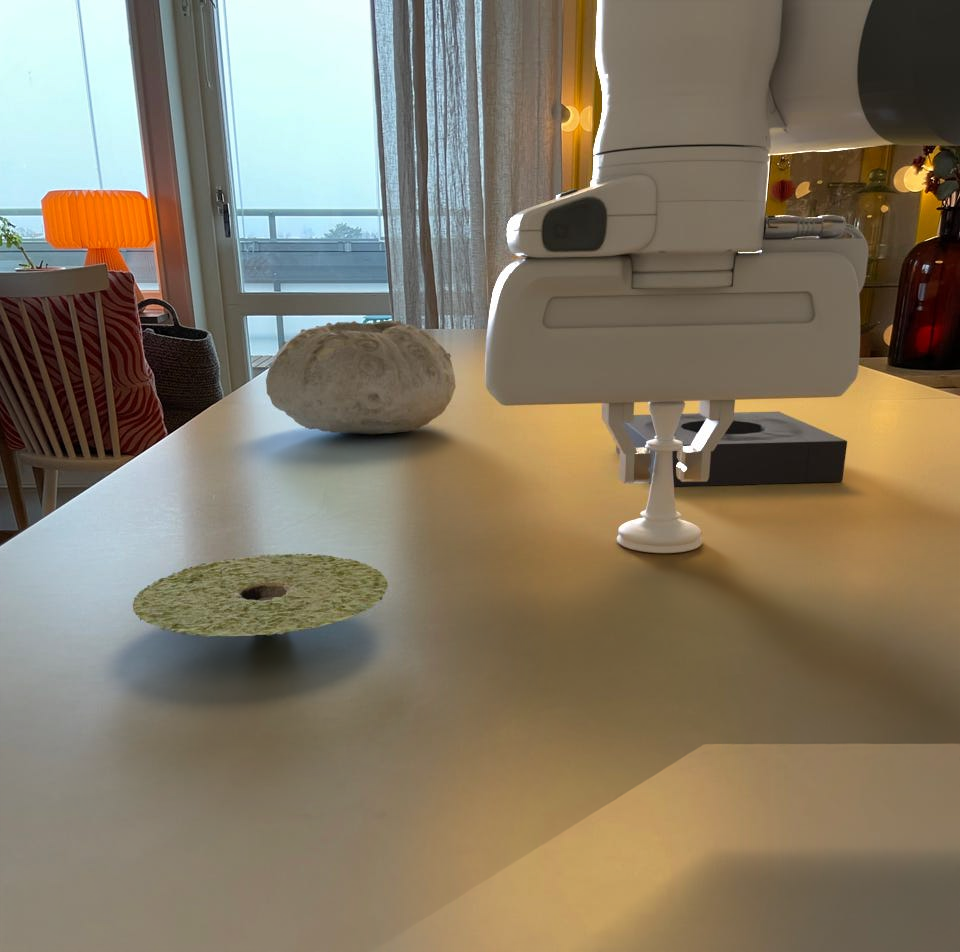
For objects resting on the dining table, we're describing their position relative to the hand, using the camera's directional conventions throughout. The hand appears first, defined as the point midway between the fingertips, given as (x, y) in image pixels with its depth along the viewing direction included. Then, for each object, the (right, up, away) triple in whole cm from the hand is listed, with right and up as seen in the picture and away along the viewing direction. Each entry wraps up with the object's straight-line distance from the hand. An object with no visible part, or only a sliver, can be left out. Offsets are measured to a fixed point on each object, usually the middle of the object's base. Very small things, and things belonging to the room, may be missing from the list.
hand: (662, 480), depth 55 cm
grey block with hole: (+9, +5, +21) cm, 24 cm away
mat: (-20, -9, -11) cm, 25 cm away
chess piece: (0, -4, +1) cm, 4 cm away
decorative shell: (-22, +11, +38) cm, 45 cm away
